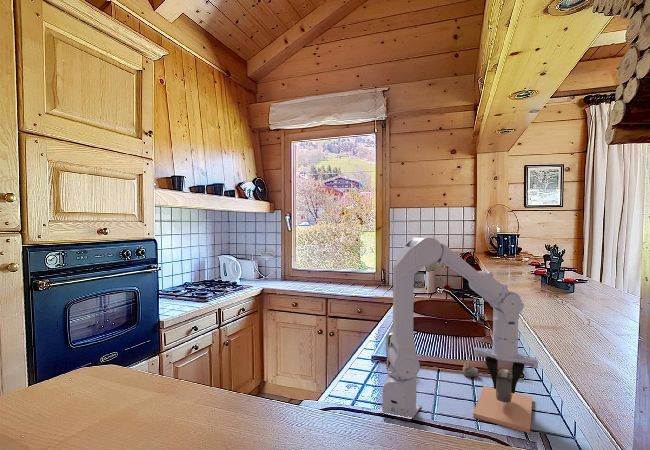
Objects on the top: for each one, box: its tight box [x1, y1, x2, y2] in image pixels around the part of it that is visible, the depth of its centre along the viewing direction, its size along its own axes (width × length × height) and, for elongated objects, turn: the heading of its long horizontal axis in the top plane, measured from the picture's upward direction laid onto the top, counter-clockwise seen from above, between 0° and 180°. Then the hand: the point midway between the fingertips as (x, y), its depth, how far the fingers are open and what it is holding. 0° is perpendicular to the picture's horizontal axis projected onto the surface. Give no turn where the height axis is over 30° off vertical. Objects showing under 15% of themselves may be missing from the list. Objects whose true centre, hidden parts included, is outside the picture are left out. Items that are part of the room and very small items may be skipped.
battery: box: [385, 332, 393, 369], centre depth 115 cm, size 7×4×11 cm, turn 118°
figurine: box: [461, 355, 479, 378], centre depth 111 cm, size 5×4×6 cm
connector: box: [496, 368, 513, 403], centre depth 91 cm, size 8×3×6 cm, turn 148°
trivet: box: [472, 385, 533, 434], centre depth 90 cm, size 18×12×1 cm, turn 148°
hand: (504, 389), depth 90 cm, fingers closed on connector, 3 cm apart
